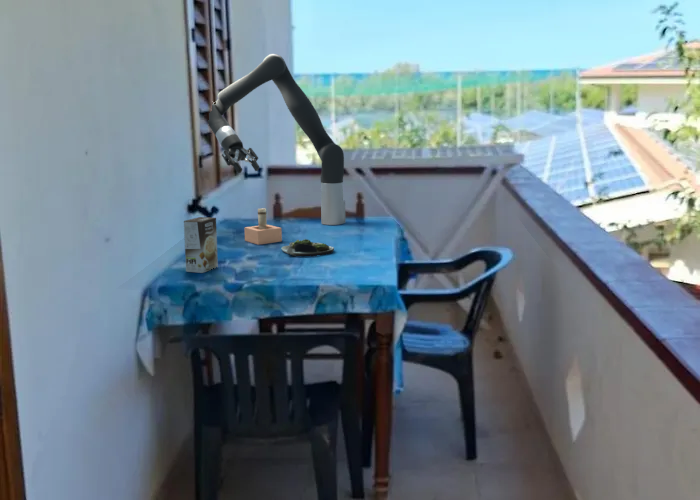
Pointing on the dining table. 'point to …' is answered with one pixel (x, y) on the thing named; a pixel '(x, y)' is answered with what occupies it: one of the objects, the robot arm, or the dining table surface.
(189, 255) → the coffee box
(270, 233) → the orange square ring
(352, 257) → the dining table surface
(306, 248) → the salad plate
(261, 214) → the birch peg
